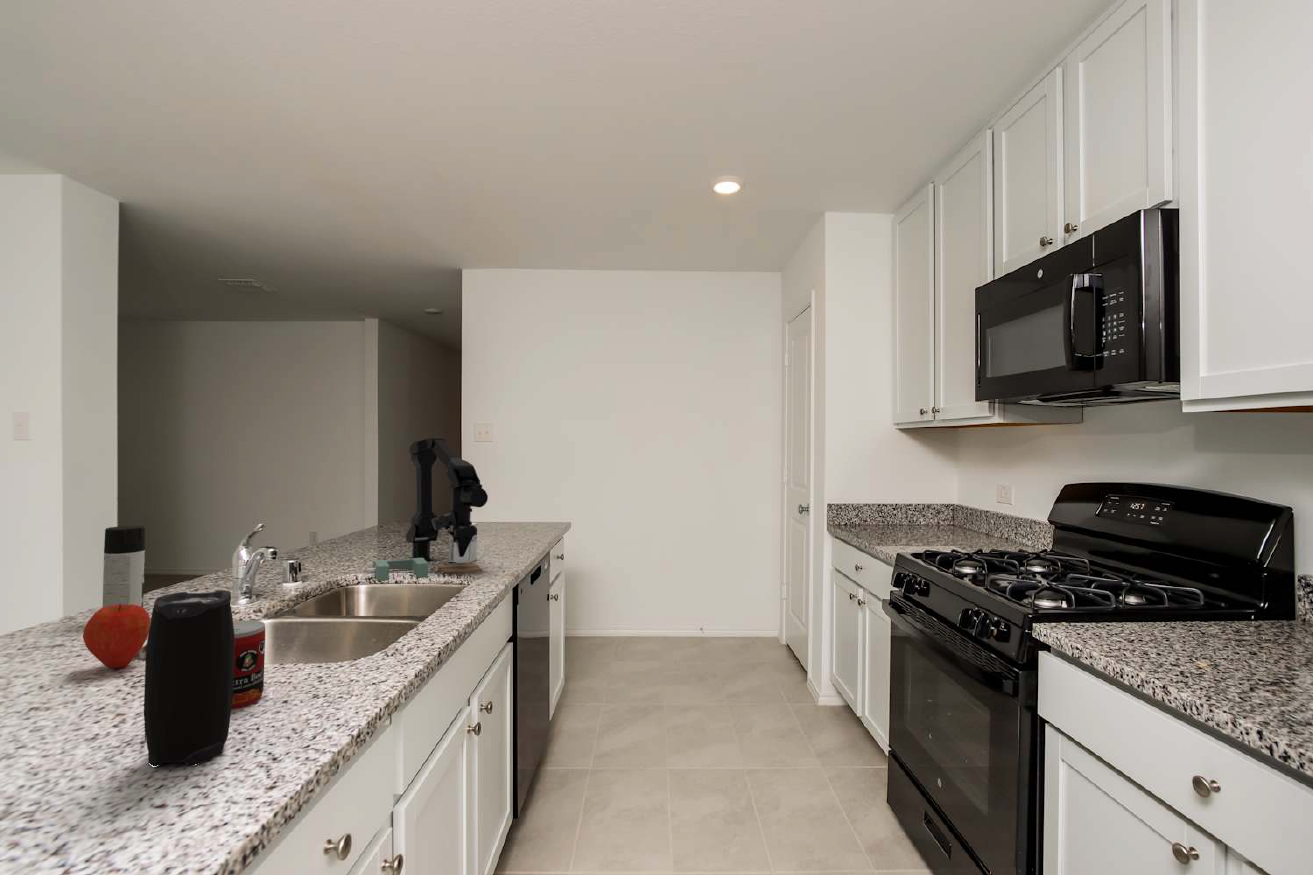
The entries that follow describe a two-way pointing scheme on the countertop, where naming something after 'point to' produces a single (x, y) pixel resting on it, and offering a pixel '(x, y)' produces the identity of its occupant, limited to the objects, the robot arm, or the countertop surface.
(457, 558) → the steel block
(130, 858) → the countertop surface
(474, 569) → the copper plate
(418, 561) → the vise
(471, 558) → the supplement box
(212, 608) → the portable speaker
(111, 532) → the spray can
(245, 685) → the canned food
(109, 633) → the apple
